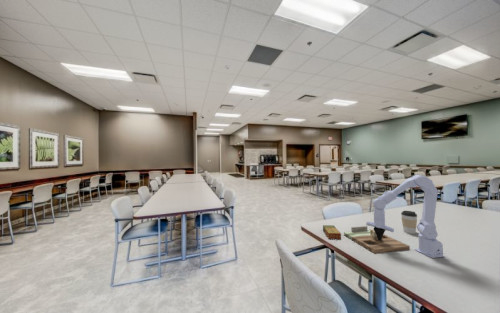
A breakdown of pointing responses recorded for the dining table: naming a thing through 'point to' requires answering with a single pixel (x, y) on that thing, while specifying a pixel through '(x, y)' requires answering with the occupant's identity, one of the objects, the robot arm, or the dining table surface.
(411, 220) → the coffee cup
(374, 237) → the block
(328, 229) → the carton
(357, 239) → the board
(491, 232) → the dining table surface
